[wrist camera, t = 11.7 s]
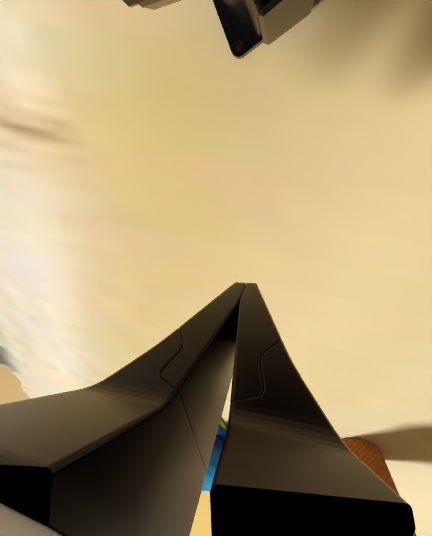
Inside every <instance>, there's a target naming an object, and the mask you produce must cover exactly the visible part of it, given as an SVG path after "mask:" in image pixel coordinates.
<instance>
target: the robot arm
mask: <svg viewBox="0 0 432 536" xmlns="http://www.w3.org/2000/svg"><path fill="white" fill-rule="evenodd" d="M123 1H124V2H125V3H126V4H127V5H128V6H129V7H133V6H136V5H140V6H142V7H144V8H149V9H158V8H161V7H163V6H166V5H169V4H172V3H175V2H178V1H181V0H123ZM315 1H316V0H213V2H214V5H215V8H216V10H217V13H218V16H219V19H220V21H221V24H222V27H223V29H224V32H225V35H226V38H227V40H228V43H229V46H230V49H231V51H232V53H233V55H234V57H236V58H237V59H241V58H243V57H244V56H246V55H247V54H248V53H249V52H251V51H252V50H253V49H254V48H256V47H257V46H258V45H260V44H261V43H262V42H264V43H265V44H268V45H269V44H271V43H272V42H273V41H275V40H276V39H277V38H278V37H280V36H281V35H282V34H284V33H285V32H286V31H288V30H289V29H290V28H292V27H293V26H294V25H295V24H297V23H298V22H299V21H301V20H302V19H303V18H305V17H306V16H307V15H309V14H310V12H311V10H312V7H313V4H314V2H315ZM238 43H242V44H243V48H242V50H241V51H239V52H237V51H236V46H237V44H238ZM232 375H233V379H232ZM231 379H232V390H231V404H230V412H229V420H228V426H227V430H226V434H225V437H224V441H223V445H222V449H221V452H220V456H219V460H218V463H217V467H216V471H215V474H214V478H213V482H212V486H211V489H210V504H211V529H212V536H413V534H414V532H415V522H414V517H413V511H412V508H411V506H410V505H409V504H408V503H407V502H406V501H405V500H404V499H402V498H401V497H400V496H399V495H398V494H397V493H396V492H395V491H394V490H393V489H392V488H390V487H389V486H388V485H387V484H386V483H385V482H384V481H383V480H382V479H381V478H380V477H379V476H377V475H376V474H375V473H374V472H373V471H372V470H371V469H370V468H369V467H368V466H367V465H365V464H364V463H363V462H362V461H361V460H360V459H359V458H358V457H357V456H356V455H355V454H354V453H353V452H352V451H351V450H350V449H349V448H348V447H347V445H346V444H345V443H344V442H343V441H342V439H341V438H340V437H339V435H338V434H337V432H336V431H335V430H334V428H333V426H332V425H331V423H330V422H329V420H328V419H327V417H326V416H325V414H324V412H323V411H322V409H321V408H320V406H319V405H318V403H317V401H316V400H315V398H314V397H313V395H312V393H311V392H310V390H309V389H308V387H307V386H306V384H305V382H304V381H303V379H302V378H301V376H300V374H299V372H298V371H297V369H296V367H295V366H294V364H293V362H292V360H291V358H290V356H289V354H288V352H287V350H286V348H285V346H284V343H283V341H282V339H281V337H280V335H279V333H278V330H277V328H276V326H275V324H274V321H273V319H272V317H271V315H270V313H269V310H268V308H267V306H266V304H265V301H264V299H263V297H262V295H261V293H260V290H259V288H258V286H257V284H256V283H246V284H245V283H238V282H236V283H234V284H233V285H232V286H230V287H229V288H228V289H227V290H225V291H224V292H223V293H222V294H220V295H219V296H218V297H217V298H215V299H214V300H213V301H212V302H210V303H209V304H208V305H207V306H205V307H204V308H203V309H202V310H200V311H199V312H198V313H197V314H195V315H194V316H193V317H192V318H190V319H189V320H188V321H187V322H185V323H184V324H183V325H182V326H180V327H179V329H177V330H175V331H174V332H173V333H172V334H170V335H169V336H168V337H166V338H165V339H164V340H162V341H161V342H160V343H159V344H157V345H156V346H154V347H153V348H151V349H150V350H148V351H147V352H146V353H144V354H143V355H141V356H140V357H138V358H137V359H135V360H134V361H132V362H131V363H129V364H128V365H126V366H125V367H123V368H122V369H120V370H119V371H117V372H116V373H114V374H113V375H111V376H109V377H108V378H106V379H105V380H103V381H101V382H99V383H97V384H95V385H92V386H90V387H87V388H83V389H79V390H75V391H69V392H64V393H59V394H54V395H48V396H43V397H38V398H33V399H28V400H23V401H17V402H12V403H7V404H2V405H0V536H189V535H190V531H191V527H192V524H193V520H194V516H195V513H196V509H197V505H198V502H199V497H200V494H201V490H202V487H203V483H204V479H205V476H206V471H207V468H208V464H209V460H210V457H211V453H212V449H213V445H214V442H215V438H216V434H217V431H218V427H219V423H220V419H221V416H222V412H223V408H224V405H225V401H226V397H227V393H228V390H229V386H230V382H231Z"/></svg>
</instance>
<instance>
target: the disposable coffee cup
mask: <svg viewBox="0 0 432 536" xmlns="http://www.w3.org/2000/svg"><path fill="white" fill-rule="evenodd" d="M342 441H343V442H344V443H345V444H346V445H347V447H348V448H349V449H350V450H351V451H352V452H353V453H354V454H355V455H356V456H357V457H358V458H359V459H360V460H361V461H362V462H363V463H364V464H365V465H367V466H368V467H369V468H370V469H371V470H372V471H373V472H374V473H375V474H376V475H377V476H379V477H380V478H381V479H382V480H383V481H384V482H385V483H386V484H387V485H388V486H389V487H390V488H392V489H393V490H394V491H395V492H396V493H397V494H398V495H399V493H398V491H397V489H396V486H395V484H394V482H393V479H392V477H391V474H390V472H389V470H388V467H387V465H386V463H385V460H384V458H383V455H382V453H381V451H380V449H379V448H378V447H377V446H375V445H374V444H372V443H370V442H367V441H364V440H359V439H342ZM413 536H416V534H415V532H414V534H413Z"/></svg>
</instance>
